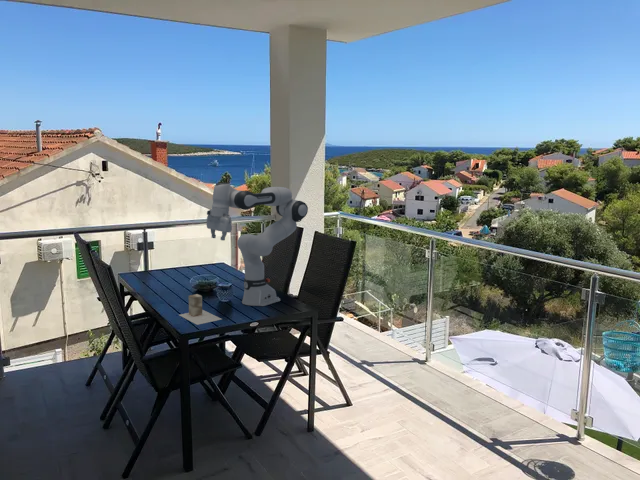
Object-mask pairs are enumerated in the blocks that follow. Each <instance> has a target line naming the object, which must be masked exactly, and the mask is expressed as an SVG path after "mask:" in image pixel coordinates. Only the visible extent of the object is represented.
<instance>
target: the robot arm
mask: <svg viewBox="0 0 640 480" xmlns="http://www.w3.org/2000/svg"><path fill="white" fill-rule="evenodd" d="M212 193H213V194H212V205H211V209H208V210H207V212H206V215H207V216H206V228H207V229H209V230H210V234H211V236H210V237H211V239H216V236H217V235H216V233H215V232H217V231H218V232H220V233H221V236H220V241H225V240H226V236H227V234H228V233H232V230H233V229H232V227H233V223H232V221H233V220H232V218H231V216H230V214H229V213H230V212H229V211H230V208H233V209H239V210H244V211H247V210H250V209H252V208H254V207H256V206H260V205H264V206H267V207H275V209H276V213H277V214H278V215H279V216H281V218H280V219H279V220H277V221H275V222H272V224H270V225H268V226H266V227H265V228H264V229H263V232H262V233H260V234H257V235H256V234H250V233H245V234H241V235H240V236H239V237H238V239H237V242H236V244H237V247H238V249H239V251H240V254H241V256H242V259H243V264H244V278H243V287H244V290H243V291H244V292H243V296H242V300H241V303H242V304H243V305H246V306H252V307H253V306H255V307H256V306H257V307H265V306H268V305H272V304H275V303H278V302H280V301H281V298H280V297H279V296H277V292H276V289H274V288H273V287H272V286H270V284H268V283H270V282H271V279H270V278H268V277H267V278H265V264H264V262H263V261H262V259H261V257H267V256H269V255H270V254H271V253H272V251H273V247H274V246H275V245H277V244H279V242H281V241H283V240H284V239H287V238H288V237H289V236H290V235H292V234H293V233H294V232H295V231H296V230H297V228H298V227H297V226H298V225H297V223H300V222H301V221H302V220H304V218H305V217H306V216H307V214H308V212H309V207H308V204H307V203H306V202H304V201H302V200H297V199H293V198H292V197H293V193H292V191H291V189H290V188H288V187H283V186H269V187H265V188H263V189H262V190H261V192H260V193H259V192H258V193H253V192H252V191H250V190H237V189H236V188H235V187H233V186H232V185H231V184H230V183H229V182H218V183H216V184H215V185H214V187H213V192H212Z"/></svg>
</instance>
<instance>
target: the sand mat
mask: <svg viewBox="0 0 640 480" xmlns="http://www.w3.org/2000/svg"><path fill="white" fill-rule="evenodd" d="M179 317H182V318H184V319H185V320H187V321H189V322H191V323H193V324H195V325H197V326H199V325H203V324H208V323H211V322H217V321H220V320H223V318H220V317H219V316H217V315H215V314H212V313H210V312H208V311H206V310H204V309H202V315H199V316H195V317H193V316H191V315H189V312H185V313H181V314H179Z"/></svg>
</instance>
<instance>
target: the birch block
mask: <svg viewBox="0 0 640 480" xmlns="http://www.w3.org/2000/svg"><path fill="white" fill-rule="evenodd" d="M202 310H203V296H202V295H201V294H198V293H196V294H190V295H188V313H189V315H191V316H193V317H195V316H199V315H202Z"/></svg>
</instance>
